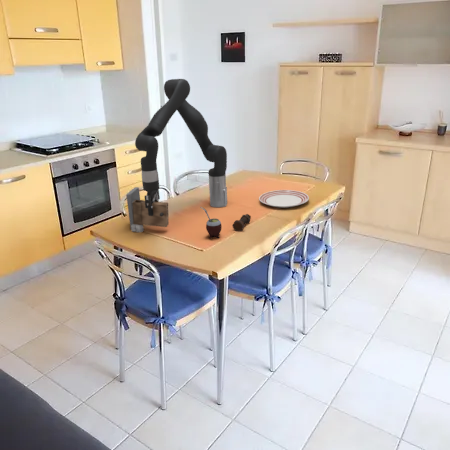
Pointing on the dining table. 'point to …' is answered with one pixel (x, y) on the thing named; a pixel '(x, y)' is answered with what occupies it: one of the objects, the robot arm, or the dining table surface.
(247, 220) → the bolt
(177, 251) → the dining table surface
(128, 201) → the cabinet side
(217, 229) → the mate gourd
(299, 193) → the dinner plate
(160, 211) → the door
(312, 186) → the dining table surface
